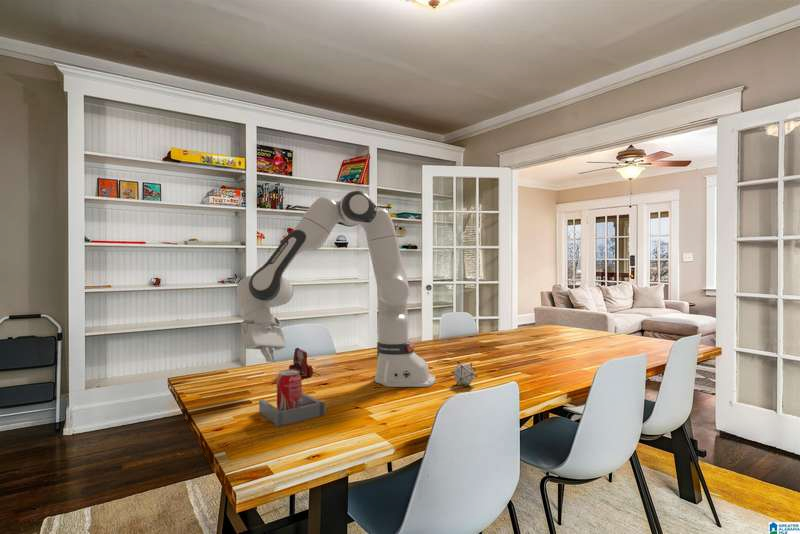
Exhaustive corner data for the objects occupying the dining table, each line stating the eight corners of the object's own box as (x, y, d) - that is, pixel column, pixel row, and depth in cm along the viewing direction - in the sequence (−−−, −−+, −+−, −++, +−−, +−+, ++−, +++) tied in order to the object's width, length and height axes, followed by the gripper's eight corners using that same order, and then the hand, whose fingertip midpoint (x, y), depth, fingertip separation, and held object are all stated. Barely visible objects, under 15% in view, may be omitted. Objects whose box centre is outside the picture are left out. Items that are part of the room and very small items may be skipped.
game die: (468, 394, 155) (485, 372, 155) (462, 392, 147) (479, 368, 148) (449, 379, 159) (465, 357, 160) (442, 376, 152) (459, 353, 152)
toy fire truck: (304, 370, 175) (303, 345, 175) (314, 377, 165) (314, 350, 165) (287, 373, 172) (286, 347, 172) (296, 380, 161) (296, 352, 161)
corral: (257, 412, 127) (257, 400, 127) (303, 402, 136) (303, 391, 136) (276, 426, 116) (276, 413, 116) (325, 414, 125) (325, 402, 125)
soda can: (278, 409, 129) (278, 369, 129) (303, 408, 130) (302, 368, 130) (275, 418, 122) (274, 375, 122) (300, 416, 123) (300, 374, 123)
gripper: (249, 315, 135) (261, 356, 131) (282, 321, 154) (294, 357, 150) (232, 323, 136) (244, 365, 132) (267, 328, 155) (278, 365, 151)
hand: (271, 361), depth 141 cm, fingers closed
